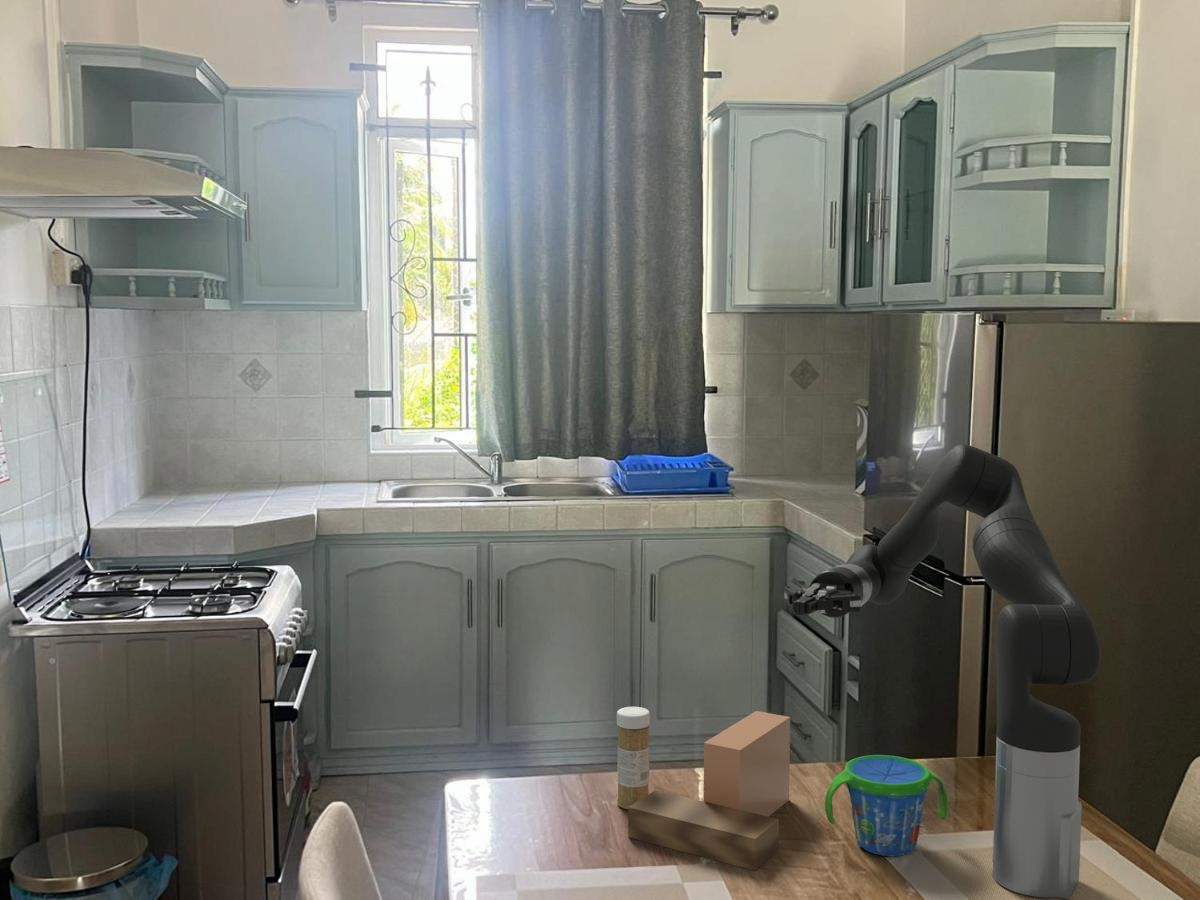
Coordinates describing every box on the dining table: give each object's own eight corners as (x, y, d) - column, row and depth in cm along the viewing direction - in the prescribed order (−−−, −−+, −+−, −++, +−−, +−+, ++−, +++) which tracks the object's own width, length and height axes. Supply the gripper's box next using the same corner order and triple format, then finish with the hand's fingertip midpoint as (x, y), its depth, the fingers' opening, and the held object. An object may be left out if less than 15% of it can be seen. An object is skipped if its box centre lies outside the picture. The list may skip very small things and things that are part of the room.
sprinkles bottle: (634, 796, 162) (634, 703, 161) (656, 805, 159) (656, 711, 158) (609, 804, 160) (610, 709, 158) (631, 814, 156) (631, 717, 155)
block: (788, 800, 161) (790, 717, 160) (739, 840, 148) (740, 750, 147) (755, 792, 164) (756, 710, 163) (703, 831, 151) (704, 742, 150)
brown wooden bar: (778, 849, 145) (779, 819, 144) (755, 870, 139) (755, 838, 139) (655, 818, 154) (655, 790, 154) (628, 837, 149) (628, 807, 148)
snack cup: (832, 864, 141) (833, 783, 140) (817, 828, 151) (818, 753, 150) (959, 864, 141) (961, 784, 140) (935, 829, 151) (937, 754, 150)
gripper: (803, 562, 186) (758, 579, 171) (882, 570, 179) (843, 588, 164) (802, 608, 187) (758, 628, 172) (881, 617, 179) (842, 639, 165)
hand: (799, 608), depth 168 cm, fingers closed
